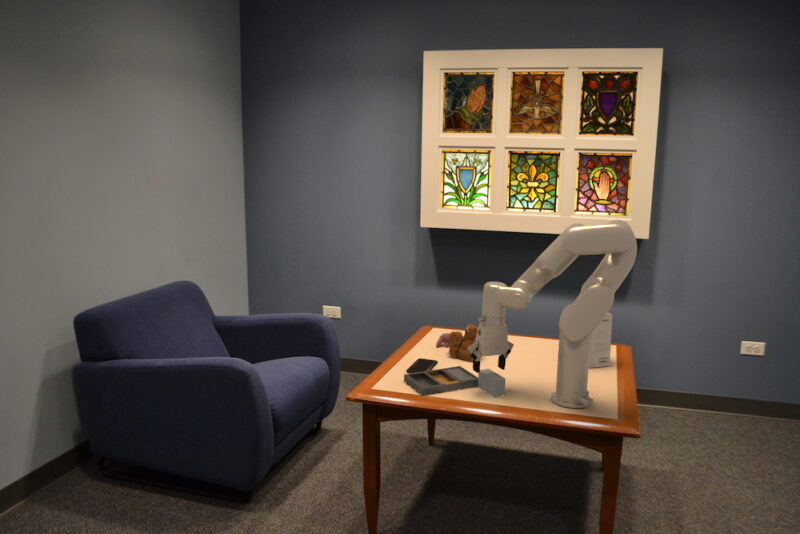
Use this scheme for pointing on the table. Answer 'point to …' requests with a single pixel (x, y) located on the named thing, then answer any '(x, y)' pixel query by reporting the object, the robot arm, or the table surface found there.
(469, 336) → the stuffed squirrel
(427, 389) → the gray divided tray
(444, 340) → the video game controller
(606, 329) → the grey carton box
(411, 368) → the phone
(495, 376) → the gray rectangular block
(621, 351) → the table surface
